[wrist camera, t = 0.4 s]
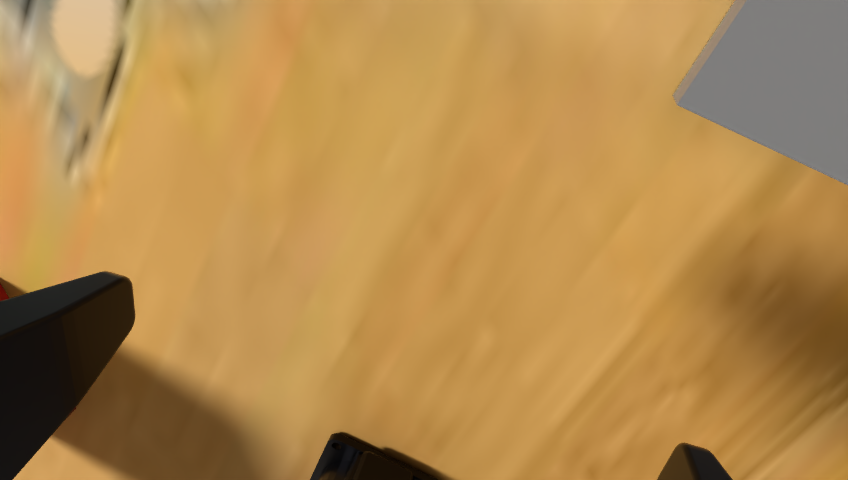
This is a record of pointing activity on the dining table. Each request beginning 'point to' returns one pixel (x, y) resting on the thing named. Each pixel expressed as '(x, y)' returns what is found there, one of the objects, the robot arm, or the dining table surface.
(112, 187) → the dining table surface
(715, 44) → the coaster
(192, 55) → the dining table surface
